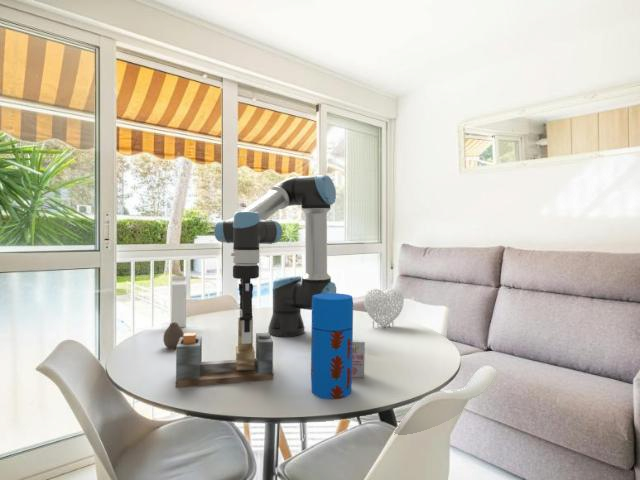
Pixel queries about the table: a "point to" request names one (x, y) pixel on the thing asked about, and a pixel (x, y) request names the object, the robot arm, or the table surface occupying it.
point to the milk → (178, 300)
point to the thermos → (331, 345)
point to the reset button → (189, 338)
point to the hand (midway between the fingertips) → (245, 337)
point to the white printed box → (358, 360)
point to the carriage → (244, 351)
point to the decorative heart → (383, 306)
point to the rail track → (225, 378)
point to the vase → (172, 335)
